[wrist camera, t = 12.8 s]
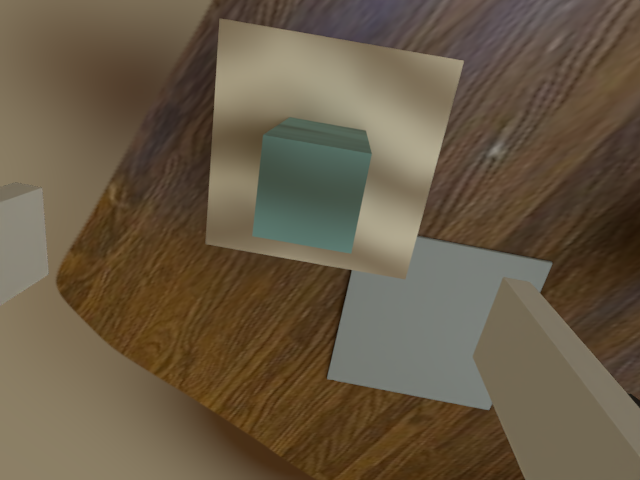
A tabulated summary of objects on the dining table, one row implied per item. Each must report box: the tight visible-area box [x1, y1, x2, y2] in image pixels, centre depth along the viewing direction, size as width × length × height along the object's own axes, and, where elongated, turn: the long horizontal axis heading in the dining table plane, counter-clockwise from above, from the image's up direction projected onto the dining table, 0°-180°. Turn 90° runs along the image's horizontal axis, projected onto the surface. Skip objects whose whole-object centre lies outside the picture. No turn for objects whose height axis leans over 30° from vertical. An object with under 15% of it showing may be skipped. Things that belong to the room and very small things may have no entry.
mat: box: [327, 236, 553, 410], centre depth 42 cm, size 18×18×1 cm
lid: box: [206, 19, 464, 279], centre depth 24 cm, size 15×15×10 cm
